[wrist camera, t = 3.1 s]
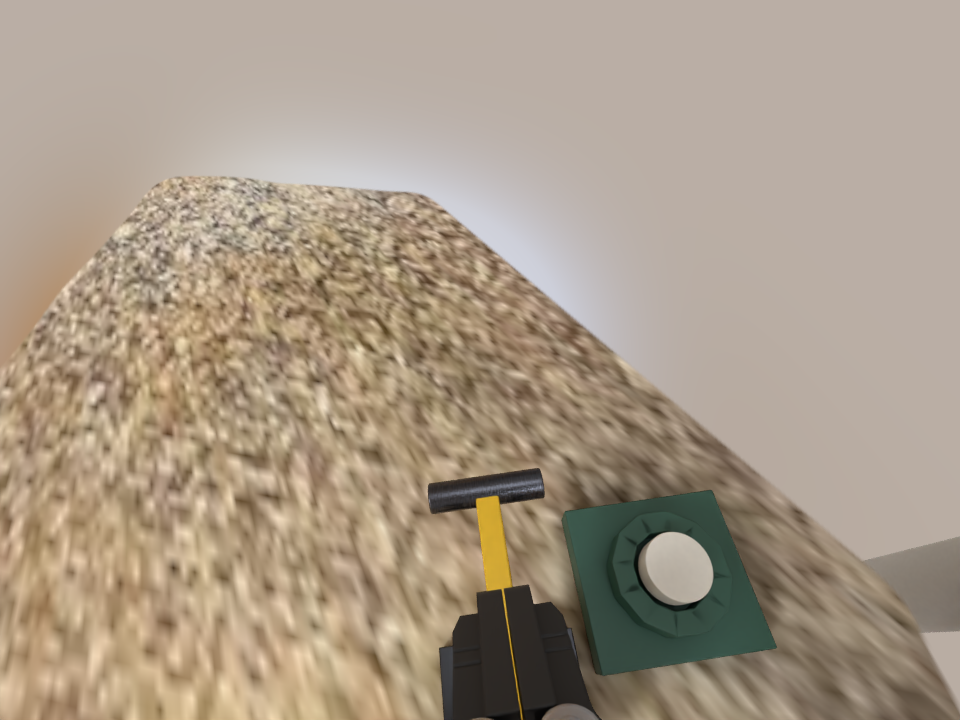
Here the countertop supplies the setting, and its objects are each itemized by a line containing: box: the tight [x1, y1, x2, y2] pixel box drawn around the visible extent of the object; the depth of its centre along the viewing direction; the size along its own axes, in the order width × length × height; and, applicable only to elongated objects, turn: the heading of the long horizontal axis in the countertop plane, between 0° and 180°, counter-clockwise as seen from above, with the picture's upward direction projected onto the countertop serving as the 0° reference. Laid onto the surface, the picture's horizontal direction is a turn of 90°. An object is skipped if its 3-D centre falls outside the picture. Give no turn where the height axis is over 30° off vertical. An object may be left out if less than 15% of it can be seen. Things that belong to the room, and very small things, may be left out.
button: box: [638, 532, 713, 605], centre depth 26 cm, size 4×4×2 cm
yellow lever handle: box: [428, 468, 545, 720], centre depth 18 cm, size 13×6×2 cm, turn 7°
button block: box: [562, 490, 777, 676], centre depth 28 cm, size 10×9×4 cm
